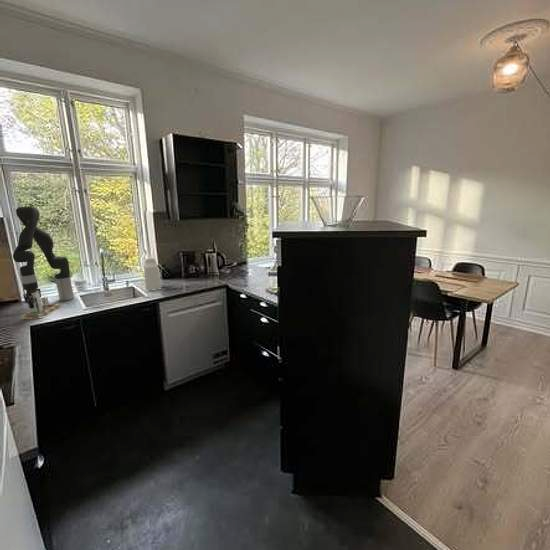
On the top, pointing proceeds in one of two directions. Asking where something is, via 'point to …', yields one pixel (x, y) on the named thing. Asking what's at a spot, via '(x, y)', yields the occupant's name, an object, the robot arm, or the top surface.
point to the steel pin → (45, 302)
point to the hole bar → (45, 312)
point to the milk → (152, 274)
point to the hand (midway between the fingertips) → (35, 306)
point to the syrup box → (35, 304)
